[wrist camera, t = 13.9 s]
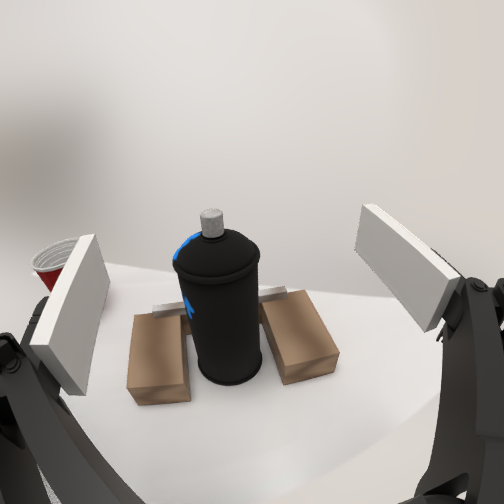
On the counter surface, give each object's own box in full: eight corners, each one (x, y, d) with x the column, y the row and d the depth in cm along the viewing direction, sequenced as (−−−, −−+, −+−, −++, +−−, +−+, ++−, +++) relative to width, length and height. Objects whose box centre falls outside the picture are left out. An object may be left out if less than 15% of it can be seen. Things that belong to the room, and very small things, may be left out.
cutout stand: (138, 405, 28) (122, 381, 26) (142, 334, 39) (132, 308, 36) (333, 372, 32) (341, 345, 30) (302, 309, 42) (304, 282, 40)
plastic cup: (118, 289, 48) (99, 230, 41) (98, 333, 38) (69, 268, 32) (71, 290, 47) (50, 235, 41) (48, 328, 38) (18, 270, 32)
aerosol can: (268, 341, 37) (267, 198, 27) (253, 392, 31) (244, 239, 20) (210, 331, 39) (188, 194, 29) (188, 377, 33) (145, 231, 22)
